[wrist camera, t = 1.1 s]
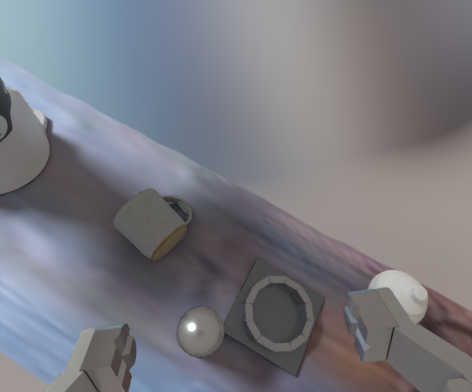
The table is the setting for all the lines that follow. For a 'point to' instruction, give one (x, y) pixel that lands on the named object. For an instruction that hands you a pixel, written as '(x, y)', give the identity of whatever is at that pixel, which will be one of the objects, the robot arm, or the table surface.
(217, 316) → the lidded canister
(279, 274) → the duct flange
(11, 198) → the table surface
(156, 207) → the ceramic mug
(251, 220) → the table surface
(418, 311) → the spinning top
